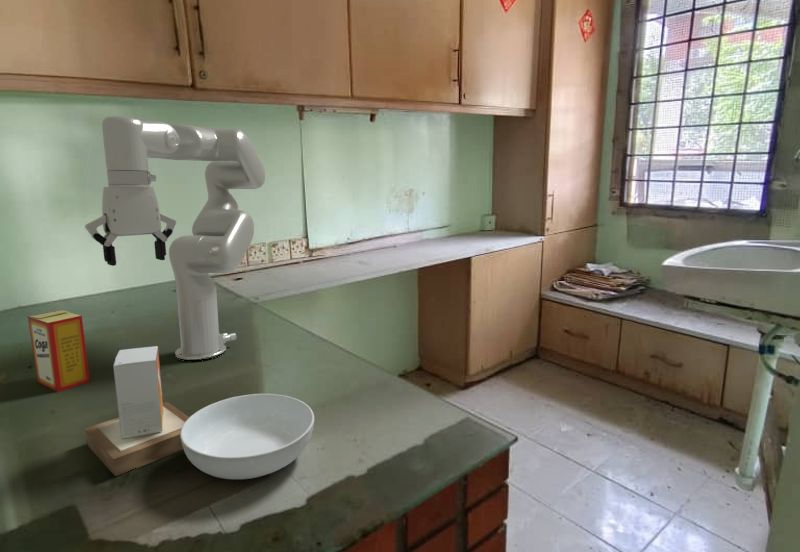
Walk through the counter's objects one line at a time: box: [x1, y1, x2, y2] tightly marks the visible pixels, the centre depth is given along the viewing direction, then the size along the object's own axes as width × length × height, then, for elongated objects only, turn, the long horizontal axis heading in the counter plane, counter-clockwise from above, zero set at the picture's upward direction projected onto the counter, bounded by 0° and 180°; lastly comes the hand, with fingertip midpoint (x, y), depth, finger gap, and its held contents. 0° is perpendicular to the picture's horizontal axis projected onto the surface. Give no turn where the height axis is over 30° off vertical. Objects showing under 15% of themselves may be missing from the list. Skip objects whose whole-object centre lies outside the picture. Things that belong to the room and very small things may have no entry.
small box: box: [112, 345, 164, 439], centre depth 82 cm, size 8×6×13 cm
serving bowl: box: [180, 393, 315, 480], centre depth 79 cm, size 21×21×7 cm
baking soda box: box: [27, 309, 91, 393], centre depth 107 cm, size 10×6×16 cm
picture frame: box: [84, 401, 190, 477], centre depth 84 cm, size 14×14×3 cm
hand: (136, 262), depth 101 cm, fingers open, 9 cm apart
